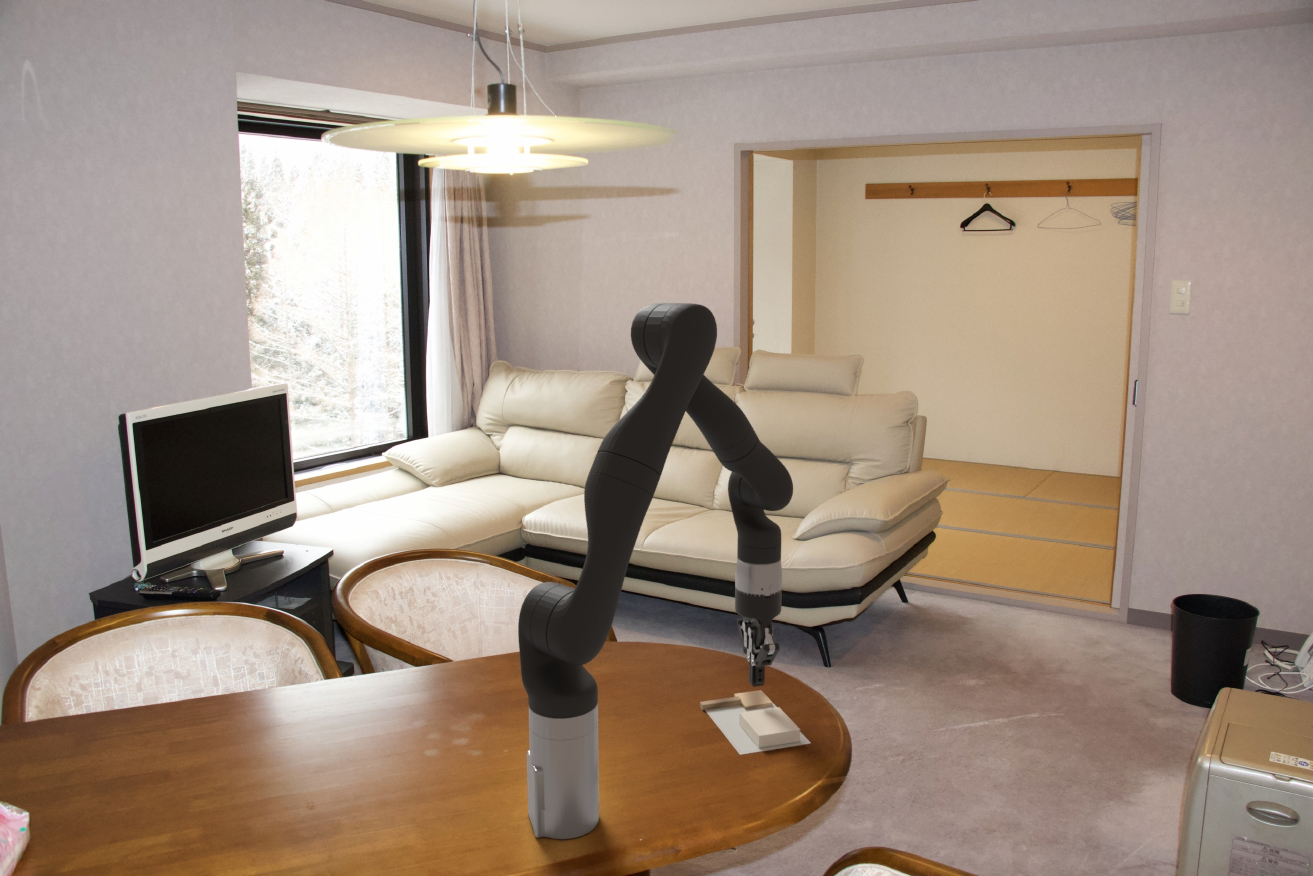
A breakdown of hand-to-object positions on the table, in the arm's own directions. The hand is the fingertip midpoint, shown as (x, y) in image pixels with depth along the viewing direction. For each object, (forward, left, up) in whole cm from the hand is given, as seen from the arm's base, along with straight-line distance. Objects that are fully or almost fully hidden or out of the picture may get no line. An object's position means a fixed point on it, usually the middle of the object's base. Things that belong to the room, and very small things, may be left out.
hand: (756, 684), depth 160 cm
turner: (-2, +5, -5) cm, 7 cm away
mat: (-2, -2, -6) cm, 7 cm away
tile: (-1, -2, -4) cm, 5 cm away
